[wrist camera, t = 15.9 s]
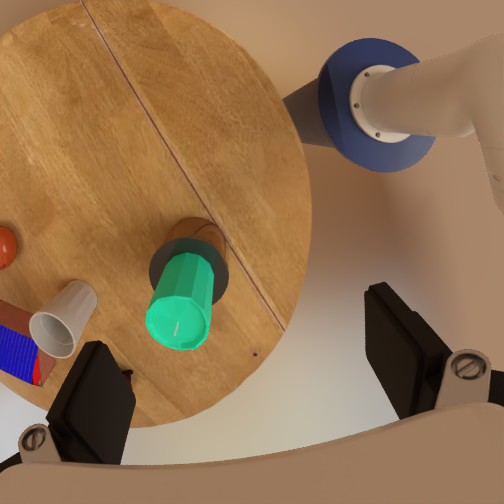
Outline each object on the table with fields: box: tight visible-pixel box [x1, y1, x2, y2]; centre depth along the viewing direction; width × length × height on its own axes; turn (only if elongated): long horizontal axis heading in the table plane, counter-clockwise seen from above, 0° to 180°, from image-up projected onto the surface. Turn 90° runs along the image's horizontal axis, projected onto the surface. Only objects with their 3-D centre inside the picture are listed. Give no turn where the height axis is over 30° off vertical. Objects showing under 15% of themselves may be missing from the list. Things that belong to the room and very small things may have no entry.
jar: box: [149, 217, 229, 305], centre depth 43 cm, size 10×10×10 cm
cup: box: [29, 280, 97, 358], centre depth 43 cm, size 8×8×12 cm
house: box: [0, 300, 55, 387], centre depth 45 cm, size 12×20×12 cm, turn 71°
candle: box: [145, 252, 214, 351], centre depth 32 cm, size 6×6×12 cm
